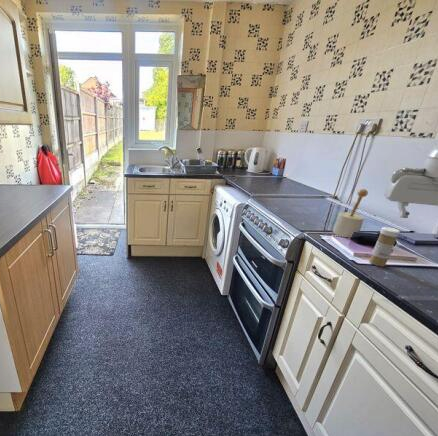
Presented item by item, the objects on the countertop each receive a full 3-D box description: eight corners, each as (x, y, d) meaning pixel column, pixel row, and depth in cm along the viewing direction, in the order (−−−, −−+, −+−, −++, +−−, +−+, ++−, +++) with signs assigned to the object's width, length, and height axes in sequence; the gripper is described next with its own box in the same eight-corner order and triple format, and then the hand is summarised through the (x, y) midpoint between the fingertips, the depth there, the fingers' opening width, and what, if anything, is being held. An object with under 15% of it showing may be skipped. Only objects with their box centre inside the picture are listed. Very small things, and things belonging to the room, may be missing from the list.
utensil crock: (353, 232, 113) (369, 186, 105) (361, 240, 105) (379, 191, 97) (330, 228, 116) (344, 184, 108) (336, 236, 108) (352, 188, 100)
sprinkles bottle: (385, 263, 87) (400, 229, 82) (384, 268, 84) (400, 233, 79) (369, 258, 90) (382, 225, 85) (367, 263, 87) (381, 228, 82)
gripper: (402, 168, 64) (382, 217, 69) (513, 176, 58) (482, 229, 63) (390, 165, 70) (373, 211, 75) (490, 171, 63) (463, 221, 68)
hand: (423, 219), depth 69 cm, fingers open, 8 cm apart
